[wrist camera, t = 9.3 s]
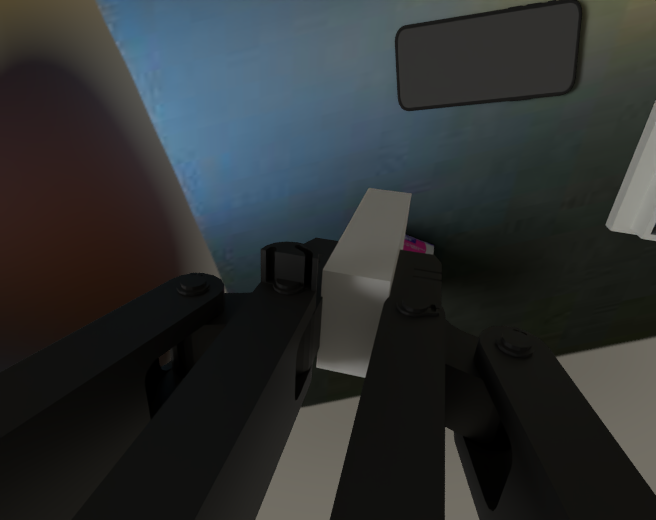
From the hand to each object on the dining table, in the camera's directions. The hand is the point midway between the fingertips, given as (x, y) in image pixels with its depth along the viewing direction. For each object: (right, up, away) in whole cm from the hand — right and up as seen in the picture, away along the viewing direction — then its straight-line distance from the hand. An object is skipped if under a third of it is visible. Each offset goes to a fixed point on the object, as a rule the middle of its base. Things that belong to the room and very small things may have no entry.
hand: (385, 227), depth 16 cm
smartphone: (+12, +17, +23) cm, 31 cm away
